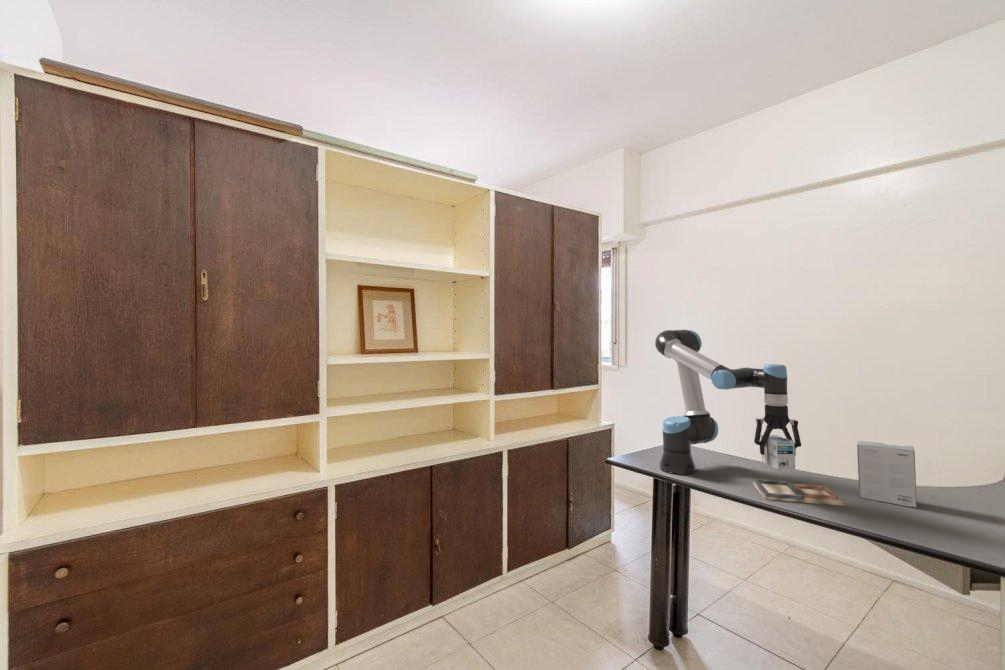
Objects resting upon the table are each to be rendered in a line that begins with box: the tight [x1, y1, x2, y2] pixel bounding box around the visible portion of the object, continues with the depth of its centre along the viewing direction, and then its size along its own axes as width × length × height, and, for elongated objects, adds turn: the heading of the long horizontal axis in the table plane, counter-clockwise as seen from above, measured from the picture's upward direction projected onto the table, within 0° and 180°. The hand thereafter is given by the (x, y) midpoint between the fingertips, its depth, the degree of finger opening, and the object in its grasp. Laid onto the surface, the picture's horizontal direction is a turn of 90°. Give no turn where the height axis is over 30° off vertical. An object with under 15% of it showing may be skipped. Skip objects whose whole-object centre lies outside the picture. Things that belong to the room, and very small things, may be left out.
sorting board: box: [752, 478, 847, 507], centre depth 159 cm, size 25×16×2 cm, turn 73°
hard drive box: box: [856, 440, 918, 508], centre depth 152 cm, size 16×8×20 cm, turn 47°
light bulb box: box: [760, 434, 796, 471], centre depth 161 cm, size 11×7×11 cm, turn 178°
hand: (777, 463), depth 161 cm, fingers closed on light bulb box, 8 cm apart
